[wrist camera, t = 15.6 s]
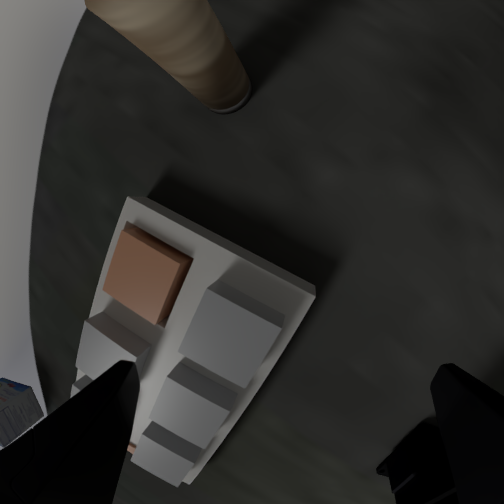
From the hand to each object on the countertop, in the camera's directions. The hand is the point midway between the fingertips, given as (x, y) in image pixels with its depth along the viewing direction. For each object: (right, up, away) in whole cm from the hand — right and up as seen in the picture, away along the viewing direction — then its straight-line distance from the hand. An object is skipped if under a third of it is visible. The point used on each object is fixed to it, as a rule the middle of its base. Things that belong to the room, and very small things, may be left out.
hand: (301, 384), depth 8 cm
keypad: (-8, -5, +15) cm, 17 cm away
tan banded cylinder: (-3, +14, +11) cm, 18 cm away
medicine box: (-31, -15, +21) cm, 40 cm away
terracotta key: (-8, +2, +13) cm, 15 cm away
